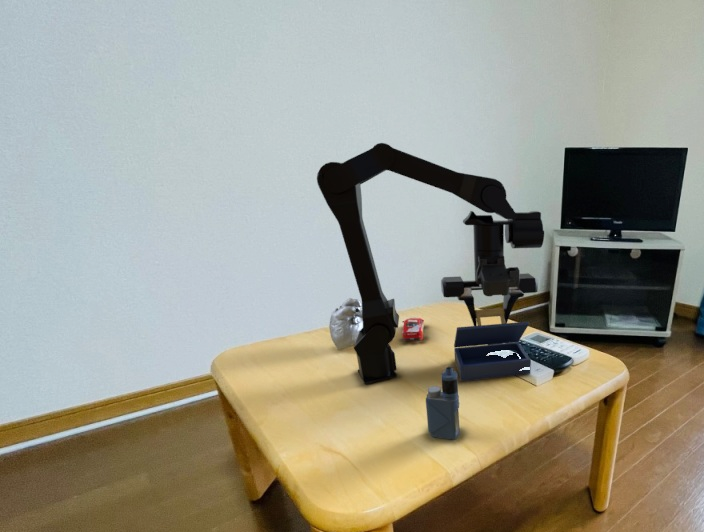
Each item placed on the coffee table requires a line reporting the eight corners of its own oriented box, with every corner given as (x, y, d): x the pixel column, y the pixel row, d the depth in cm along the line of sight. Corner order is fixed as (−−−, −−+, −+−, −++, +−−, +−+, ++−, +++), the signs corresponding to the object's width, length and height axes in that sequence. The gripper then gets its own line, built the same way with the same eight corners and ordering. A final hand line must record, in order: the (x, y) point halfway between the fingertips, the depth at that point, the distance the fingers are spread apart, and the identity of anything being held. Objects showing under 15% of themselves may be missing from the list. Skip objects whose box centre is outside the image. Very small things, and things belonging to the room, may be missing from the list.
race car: (405, 325, 107) (403, 311, 105) (425, 324, 108) (424, 310, 106) (400, 344, 95) (398, 329, 94) (423, 343, 96) (422, 327, 94)
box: (530, 373, 82) (530, 359, 81) (461, 381, 79) (460, 367, 77) (518, 355, 91) (518, 341, 89) (454, 361, 87) (454, 347, 86)
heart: (341, 333, 100) (328, 290, 93) (377, 334, 99) (366, 292, 93) (322, 356, 92) (306, 311, 85) (361, 358, 91) (347, 312, 84)
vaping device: (457, 441, 61) (454, 373, 56) (426, 436, 62) (419, 369, 57) (463, 431, 64) (459, 365, 59) (432, 427, 64) (426, 361, 59)
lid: (529, 324, 80) (524, 302, 81) (457, 330, 76) (454, 307, 77) (518, 341, 89) (515, 322, 90) (454, 347, 86) (451, 327, 87)
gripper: (443, 257, 66) (448, 343, 72) (548, 254, 70) (544, 335, 77) (438, 248, 76) (443, 324, 82) (530, 245, 80) (528, 318, 86)
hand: (489, 325), depth 82 cm, fingers closed on lid, 6 cm apart
